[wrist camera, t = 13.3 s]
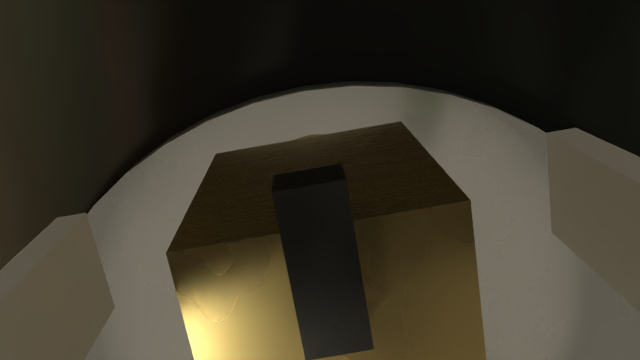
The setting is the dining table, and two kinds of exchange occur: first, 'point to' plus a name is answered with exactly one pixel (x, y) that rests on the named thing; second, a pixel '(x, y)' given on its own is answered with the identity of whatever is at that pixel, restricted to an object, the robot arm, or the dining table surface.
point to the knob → (329, 253)
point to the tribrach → (450, 153)
